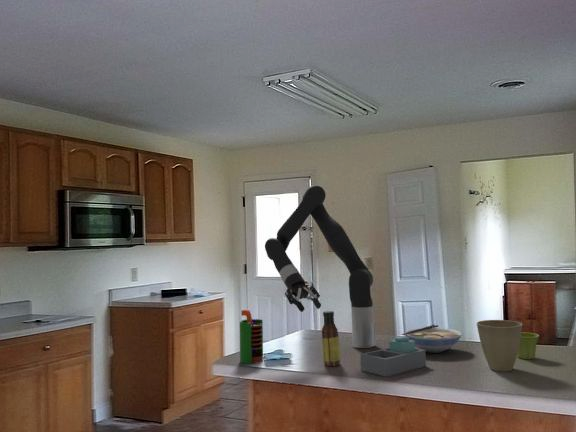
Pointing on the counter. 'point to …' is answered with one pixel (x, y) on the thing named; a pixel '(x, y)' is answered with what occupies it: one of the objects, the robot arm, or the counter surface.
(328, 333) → the sauce bottle
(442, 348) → the ramen bowl
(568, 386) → the counter surface
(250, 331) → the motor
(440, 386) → the counter surface
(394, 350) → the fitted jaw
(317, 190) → the robot arm
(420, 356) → the box
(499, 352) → the plant pot
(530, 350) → the plant pot
